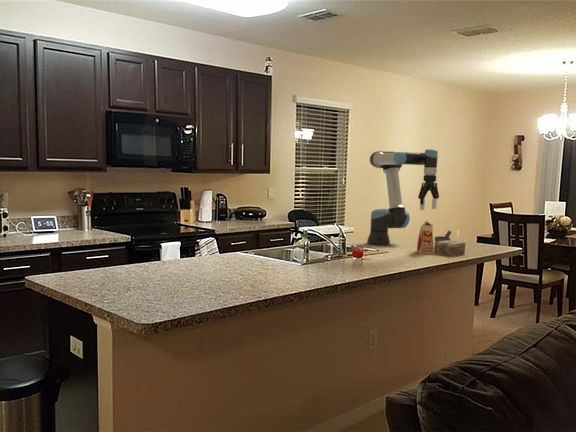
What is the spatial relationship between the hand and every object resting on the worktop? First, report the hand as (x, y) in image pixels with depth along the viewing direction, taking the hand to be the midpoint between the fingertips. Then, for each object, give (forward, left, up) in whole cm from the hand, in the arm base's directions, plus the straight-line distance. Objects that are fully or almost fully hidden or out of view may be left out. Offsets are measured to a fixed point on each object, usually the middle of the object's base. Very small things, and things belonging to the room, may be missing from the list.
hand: (428, 209), depth 325 cm
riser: (+12, +8, -27) cm, 30 cm away
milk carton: (0, 0, -27) cm, 27 cm away
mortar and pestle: (-3, +26, -27) cm, 37 cm away
